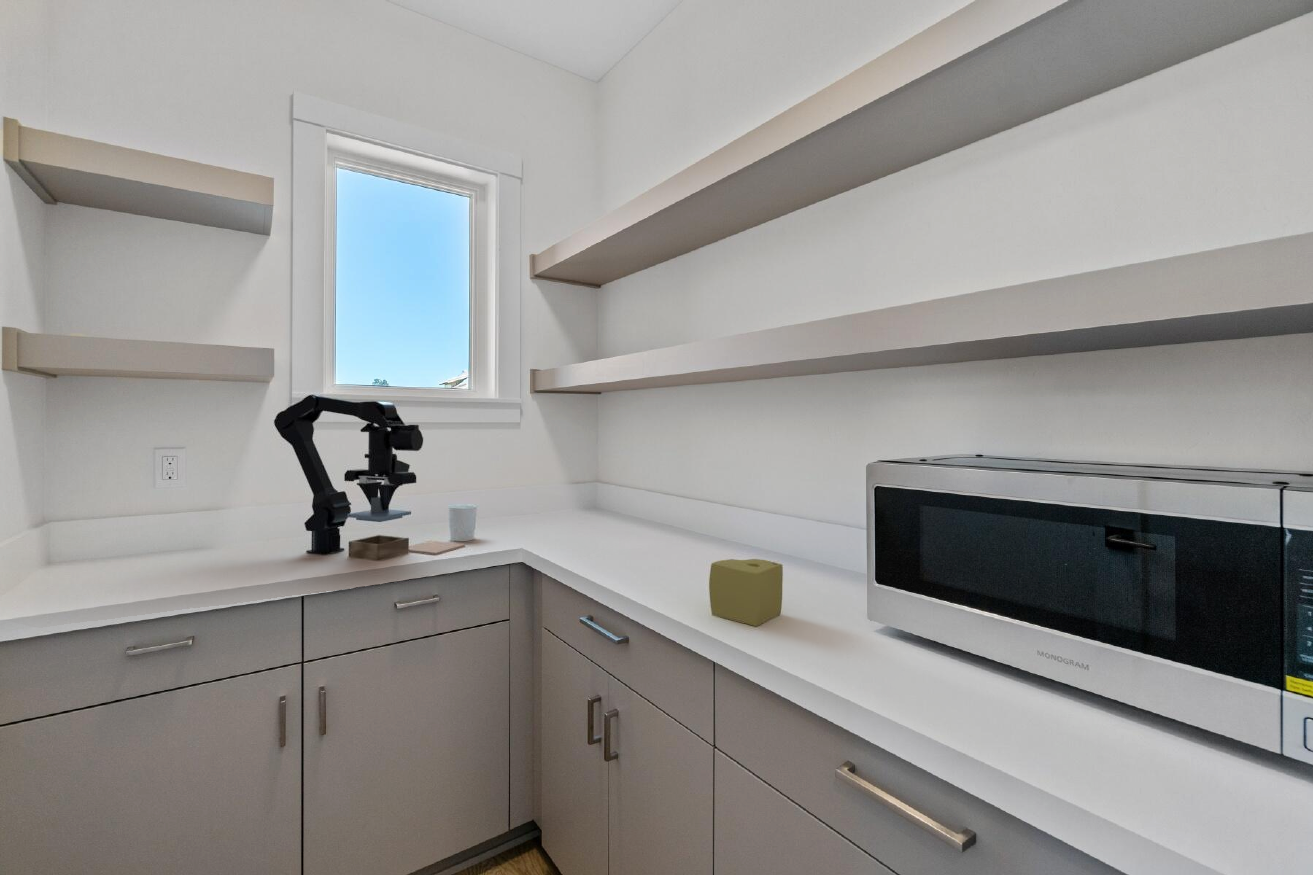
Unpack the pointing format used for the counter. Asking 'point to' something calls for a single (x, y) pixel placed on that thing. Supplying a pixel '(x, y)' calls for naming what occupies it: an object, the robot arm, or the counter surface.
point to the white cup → (462, 522)
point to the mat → (434, 547)
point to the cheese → (746, 590)
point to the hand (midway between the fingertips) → (379, 509)
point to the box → (378, 547)
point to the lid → (378, 513)
